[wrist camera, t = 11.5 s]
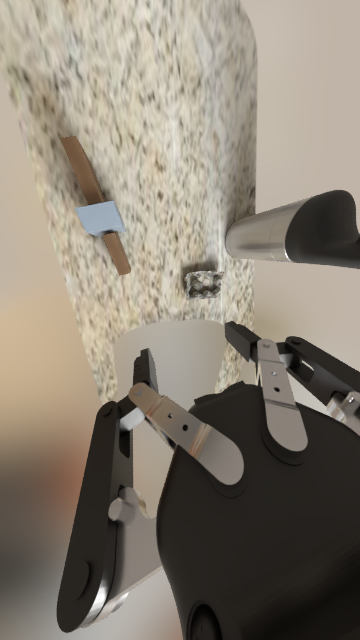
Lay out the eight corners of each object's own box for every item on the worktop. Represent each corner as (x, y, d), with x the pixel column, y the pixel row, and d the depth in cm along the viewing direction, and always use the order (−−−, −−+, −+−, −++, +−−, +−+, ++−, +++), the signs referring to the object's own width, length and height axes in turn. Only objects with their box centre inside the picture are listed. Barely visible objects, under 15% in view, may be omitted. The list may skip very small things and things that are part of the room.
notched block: (120, 214, 28) (113, 200, 20) (126, 231, 30) (122, 224, 22) (92, 220, 27) (74, 208, 20) (100, 237, 29) (86, 232, 21)
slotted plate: (91, 164, 24) (75, 135, 18) (131, 268, 33) (129, 272, 27) (79, 166, 24) (60, 138, 18) (123, 271, 33) (119, 275, 27)
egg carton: (218, 269, 39) (226, 270, 36) (215, 294, 43) (222, 298, 39) (183, 270, 37) (188, 272, 33) (182, 297, 40) (187, 301, 37)
